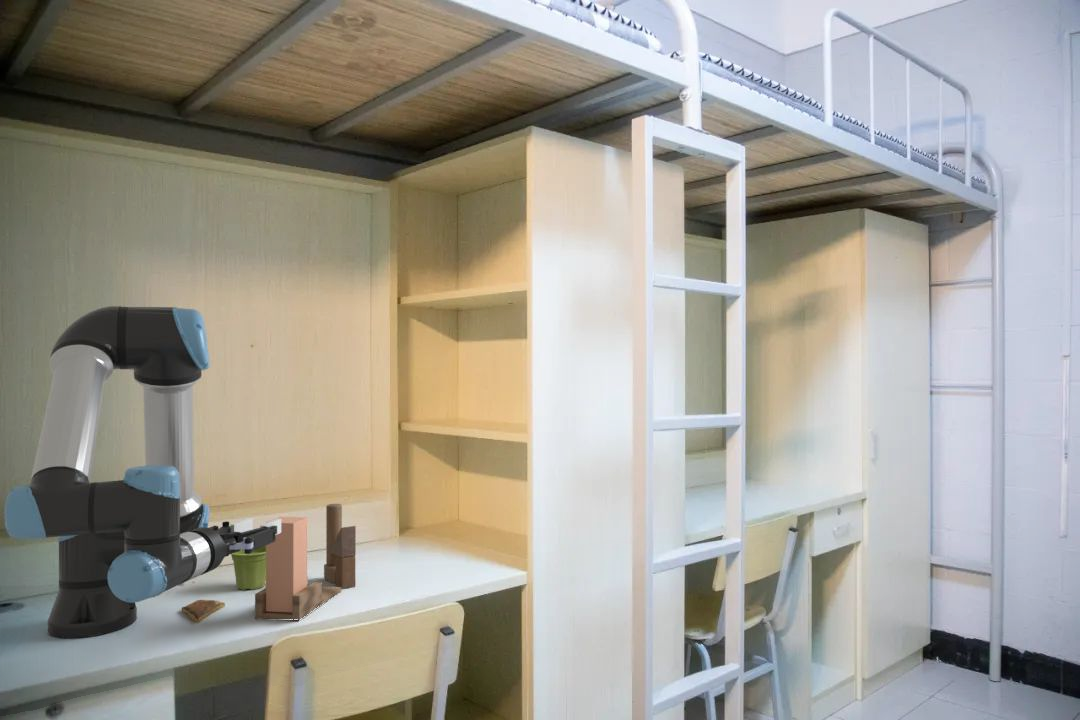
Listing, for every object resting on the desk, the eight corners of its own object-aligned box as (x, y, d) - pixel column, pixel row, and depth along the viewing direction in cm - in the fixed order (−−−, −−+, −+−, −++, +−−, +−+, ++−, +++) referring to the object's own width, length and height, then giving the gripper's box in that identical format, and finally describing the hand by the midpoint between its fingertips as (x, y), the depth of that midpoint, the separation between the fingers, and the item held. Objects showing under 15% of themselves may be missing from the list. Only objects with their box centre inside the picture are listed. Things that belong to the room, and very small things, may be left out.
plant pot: (281, 585, 175) (281, 547, 175) (245, 595, 167) (245, 556, 167) (256, 578, 180) (256, 542, 180) (220, 588, 172) (220, 550, 173)
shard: (197, 626, 149) (197, 617, 149) (161, 624, 149) (161, 615, 150) (226, 608, 159) (226, 600, 159) (193, 607, 160) (193, 599, 160)
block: (293, 612, 151) (293, 523, 151) (265, 611, 152) (265, 522, 152) (307, 603, 157) (307, 517, 157) (280, 602, 158) (280, 516, 158)
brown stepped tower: (341, 589, 171) (341, 511, 171) (323, 579, 180) (323, 504, 180) (356, 586, 173) (356, 509, 174) (338, 576, 182) (338, 502, 182)
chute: (299, 621, 150) (299, 596, 150) (255, 618, 151) (255, 594, 151) (341, 591, 170) (341, 569, 170) (301, 589, 171) (301, 568, 171)
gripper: (141, 574, 125) (222, 542, 147) (243, 579, 122) (309, 546, 145) (141, 529, 125) (222, 504, 148) (243, 533, 122) (309, 507, 145)
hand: (265, 525), depth 146 cm, fingers open, 5 cm apart
